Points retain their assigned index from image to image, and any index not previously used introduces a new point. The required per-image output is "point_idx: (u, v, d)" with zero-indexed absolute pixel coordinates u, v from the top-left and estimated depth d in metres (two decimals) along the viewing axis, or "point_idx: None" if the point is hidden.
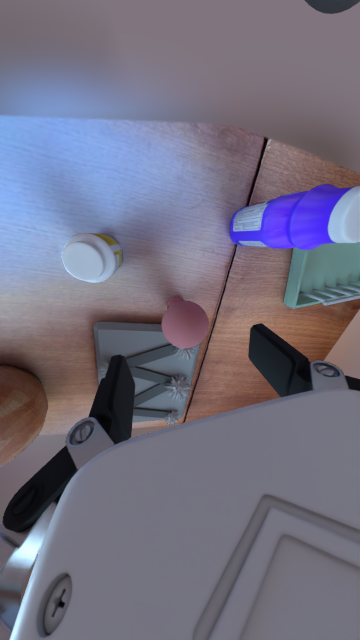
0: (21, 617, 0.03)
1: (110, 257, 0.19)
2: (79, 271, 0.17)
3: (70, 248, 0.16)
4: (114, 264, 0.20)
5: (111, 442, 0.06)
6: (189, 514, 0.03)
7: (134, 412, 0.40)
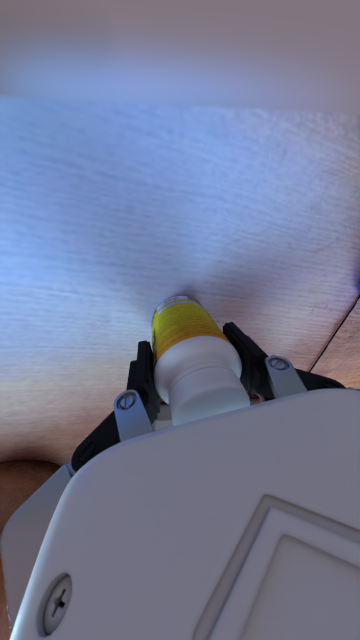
0: (21, 617, 0.03)
1: (239, 374, 0.10)
2: None
3: (198, 399, 0.07)
4: None
5: (147, 418, 0.07)
6: (189, 514, 0.03)
7: None
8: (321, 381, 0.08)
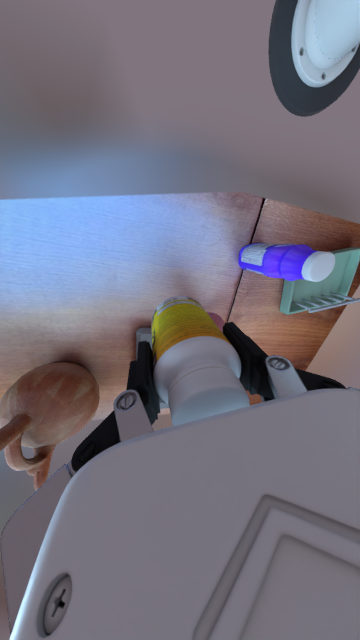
0: (21, 617, 0.03)
1: (238, 374, 0.10)
2: None
3: (197, 399, 0.07)
4: None
5: (147, 418, 0.07)
6: (189, 514, 0.03)
7: (161, 399, 0.49)
8: (321, 381, 0.08)
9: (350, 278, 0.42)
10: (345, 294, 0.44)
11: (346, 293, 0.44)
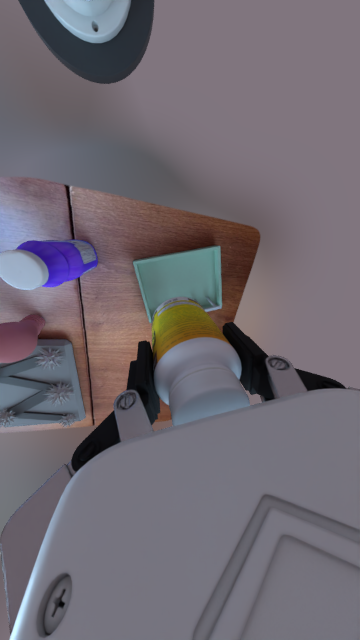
0: (21, 617, 0.03)
1: (239, 375, 0.10)
2: None
3: (198, 401, 0.07)
4: None
5: (147, 418, 0.07)
6: (189, 514, 0.03)
7: (27, 416, 0.44)
8: (321, 381, 0.08)
9: (218, 281, 0.37)
10: (219, 299, 0.39)
11: (220, 298, 0.38)
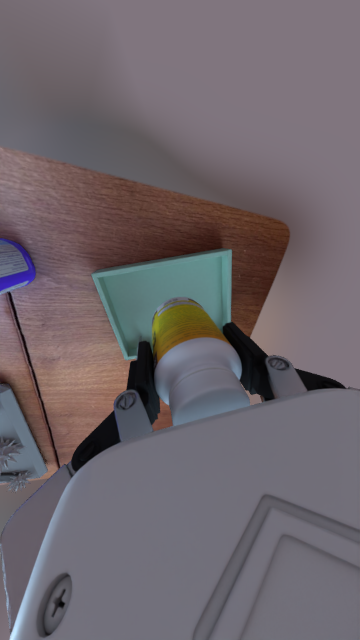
0: (21, 617, 0.03)
1: (239, 375, 0.10)
2: None
3: (198, 401, 0.07)
4: None
5: (147, 418, 0.07)
6: (189, 514, 0.03)
7: None
8: (321, 381, 0.08)
9: (226, 302, 0.25)
10: None
11: None
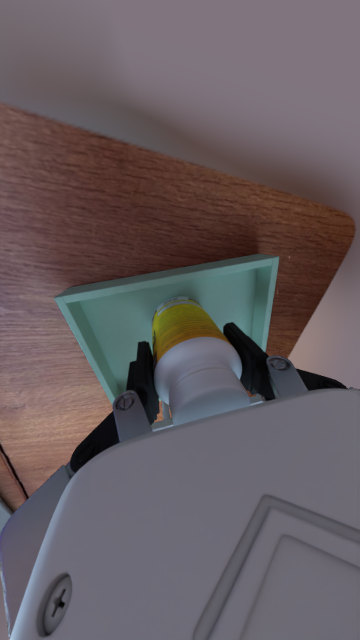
0: (21, 617, 0.03)
1: (239, 375, 0.10)
2: None
3: (198, 400, 0.07)
4: None
5: (146, 419, 0.07)
6: (189, 514, 0.03)
7: None
8: (322, 381, 0.08)
9: (262, 331, 0.17)
10: None
11: None
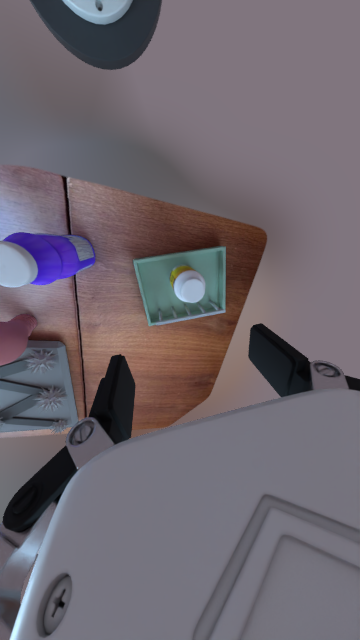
0: (21, 617, 0.03)
1: (204, 286, 0.27)
2: (190, 296, 0.26)
3: (188, 283, 0.25)
4: None
5: (111, 442, 0.06)
6: (189, 514, 0.03)
7: (15, 421, 0.41)
8: None
9: (222, 284, 0.35)
10: (222, 303, 0.37)
11: (223, 302, 0.37)
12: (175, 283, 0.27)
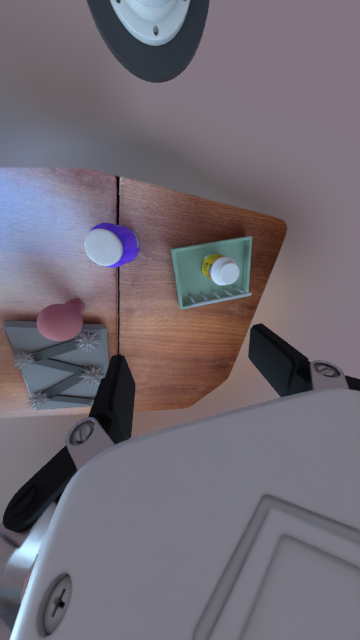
0: (21, 617, 0.03)
1: None
2: (226, 278, 0.30)
3: (226, 266, 0.29)
4: None
5: (111, 442, 0.06)
6: (189, 514, 0.03)
7: (59, 398, 0.46)
8: None
9: (247, 270, 0.39)
10: (246, 288, 0.41)
11: (247, 287, 0.41)
12: (212, 268, 0.31)
